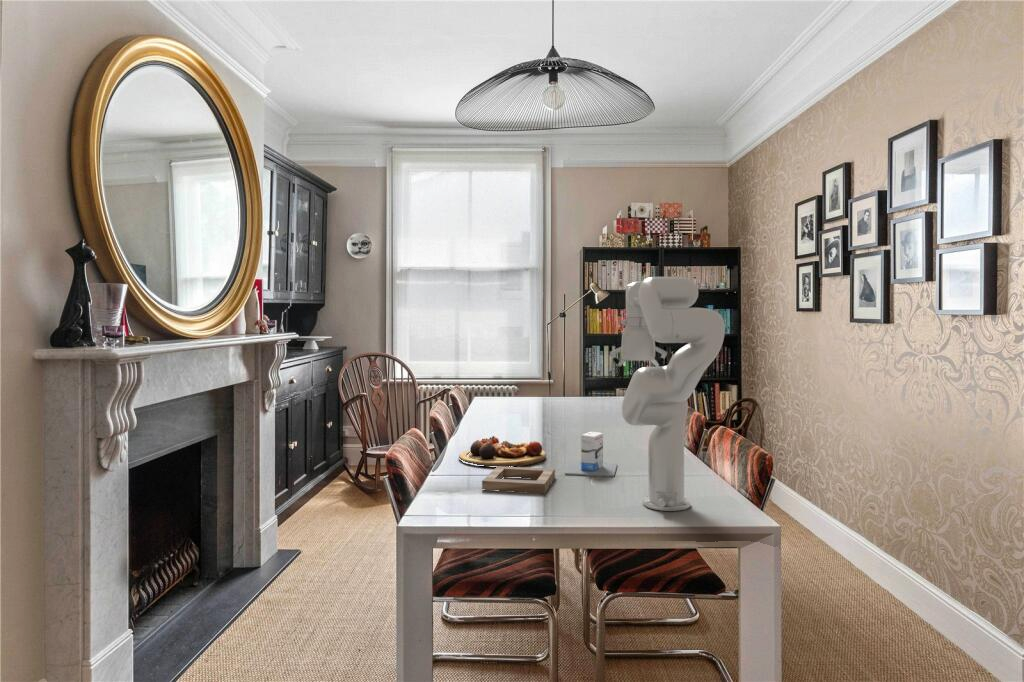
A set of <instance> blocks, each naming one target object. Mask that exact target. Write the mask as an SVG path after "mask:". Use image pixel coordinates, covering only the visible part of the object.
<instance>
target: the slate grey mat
mask: <svg viewBox="0 0 1024 682" xmlns="http://www.w3.org/2000/svg"><path fill="white" fill-rule="evenodd" d="M617 468H618V464H617V463H605V462H603V467H601V468H599V469H598V470H596V471H585V470H581V461H580V462H577V461H576V462H575V461H571V462H570V463H569V465H568V467H567V468H566V470H565V471H564V475H565V474H567V475H566V476H580V475H585V476H587V477H602V476H605V477H606V478H607V477H609V478H613V477H615V475H616V470H617ZM605 477H604V478H605Z"/></svg>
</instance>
